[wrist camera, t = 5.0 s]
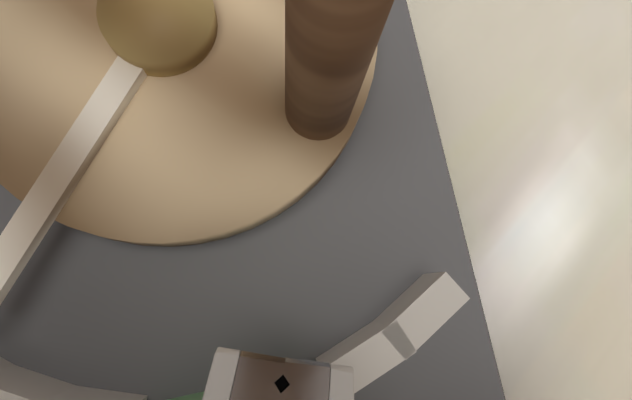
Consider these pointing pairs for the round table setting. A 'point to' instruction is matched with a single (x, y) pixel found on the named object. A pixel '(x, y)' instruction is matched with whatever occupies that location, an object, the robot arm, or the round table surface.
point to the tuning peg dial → (173, 113)
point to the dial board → (274, 279)
